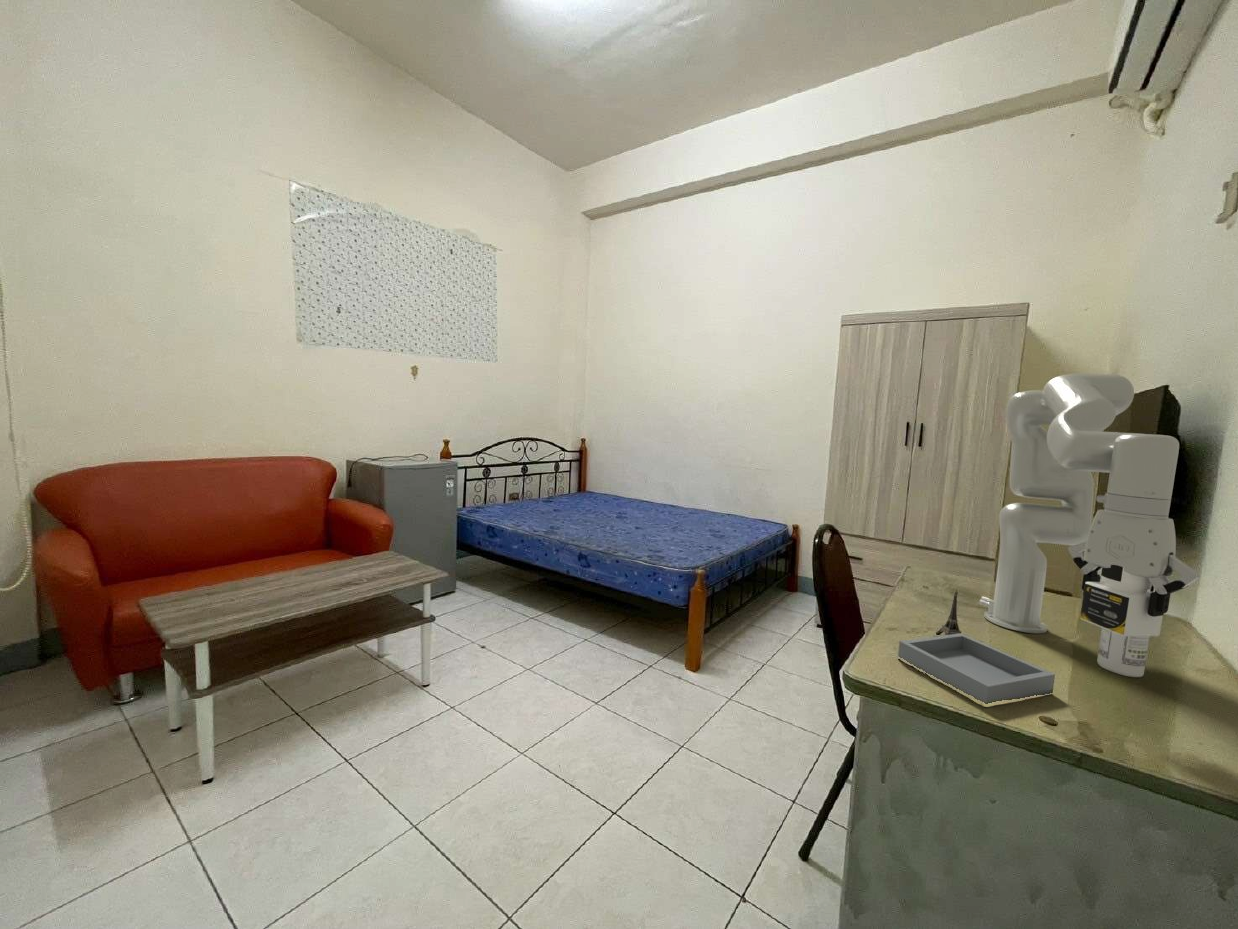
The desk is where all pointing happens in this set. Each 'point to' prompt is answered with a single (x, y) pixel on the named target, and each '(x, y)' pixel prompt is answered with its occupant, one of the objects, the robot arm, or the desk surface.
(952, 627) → the eiffel tower figurine
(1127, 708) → the desk surface
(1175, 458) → the robot arm
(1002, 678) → the tray
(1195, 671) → the desk surface
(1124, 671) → the bath foam
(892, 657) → the desk surface
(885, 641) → the desk surface
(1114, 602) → the medicine bottle
